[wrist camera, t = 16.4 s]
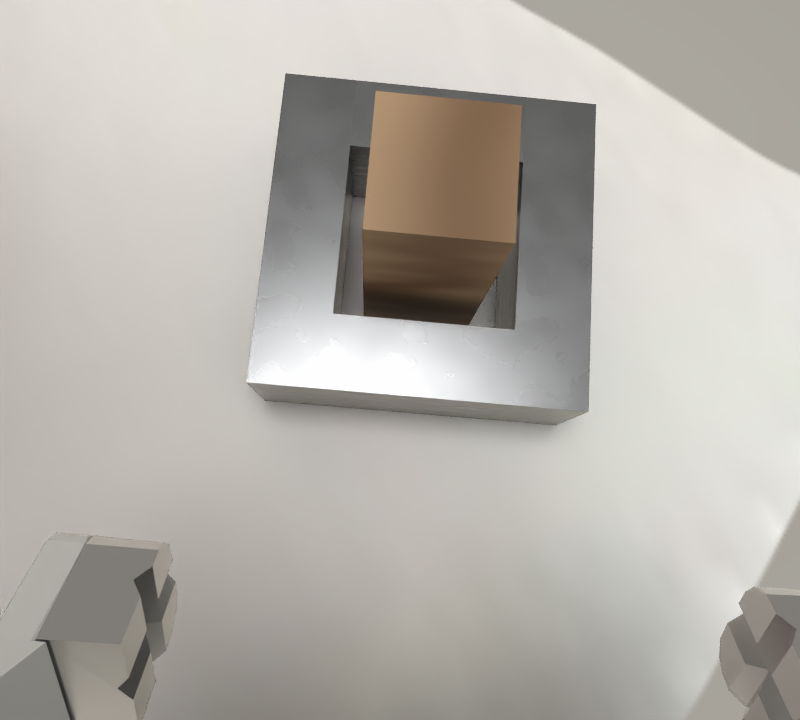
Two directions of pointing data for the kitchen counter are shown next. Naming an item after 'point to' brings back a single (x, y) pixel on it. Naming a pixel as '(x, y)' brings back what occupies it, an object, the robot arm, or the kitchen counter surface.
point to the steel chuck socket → (415, 340)
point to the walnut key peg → (438, 205)
